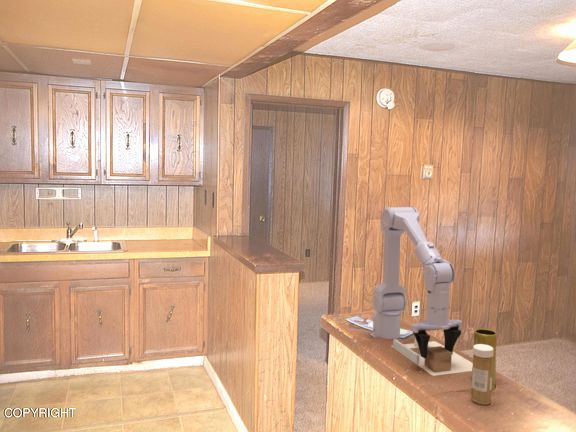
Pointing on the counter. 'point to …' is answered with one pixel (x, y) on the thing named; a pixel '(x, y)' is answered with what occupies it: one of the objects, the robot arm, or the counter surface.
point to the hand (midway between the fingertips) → (435, 355)
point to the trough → (407, 350)
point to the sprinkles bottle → (482, 374)
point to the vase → (489, 339)
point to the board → (457, 362)
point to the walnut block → (438, 359)
